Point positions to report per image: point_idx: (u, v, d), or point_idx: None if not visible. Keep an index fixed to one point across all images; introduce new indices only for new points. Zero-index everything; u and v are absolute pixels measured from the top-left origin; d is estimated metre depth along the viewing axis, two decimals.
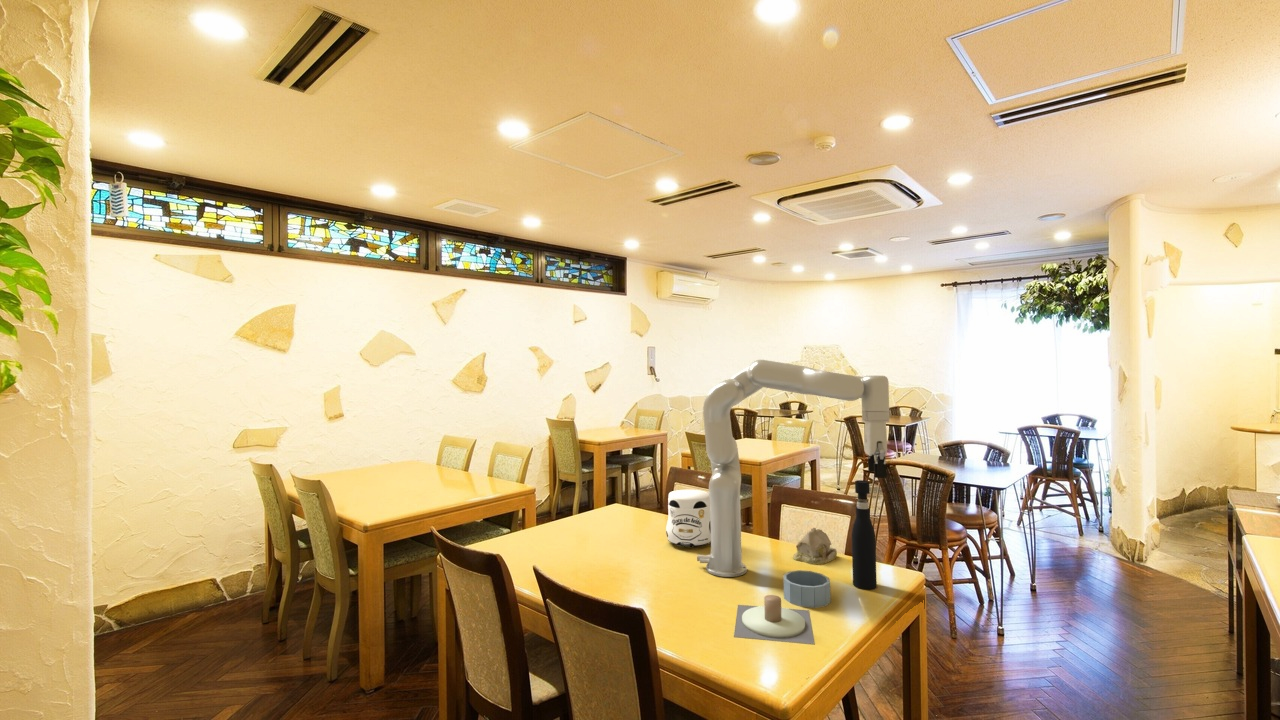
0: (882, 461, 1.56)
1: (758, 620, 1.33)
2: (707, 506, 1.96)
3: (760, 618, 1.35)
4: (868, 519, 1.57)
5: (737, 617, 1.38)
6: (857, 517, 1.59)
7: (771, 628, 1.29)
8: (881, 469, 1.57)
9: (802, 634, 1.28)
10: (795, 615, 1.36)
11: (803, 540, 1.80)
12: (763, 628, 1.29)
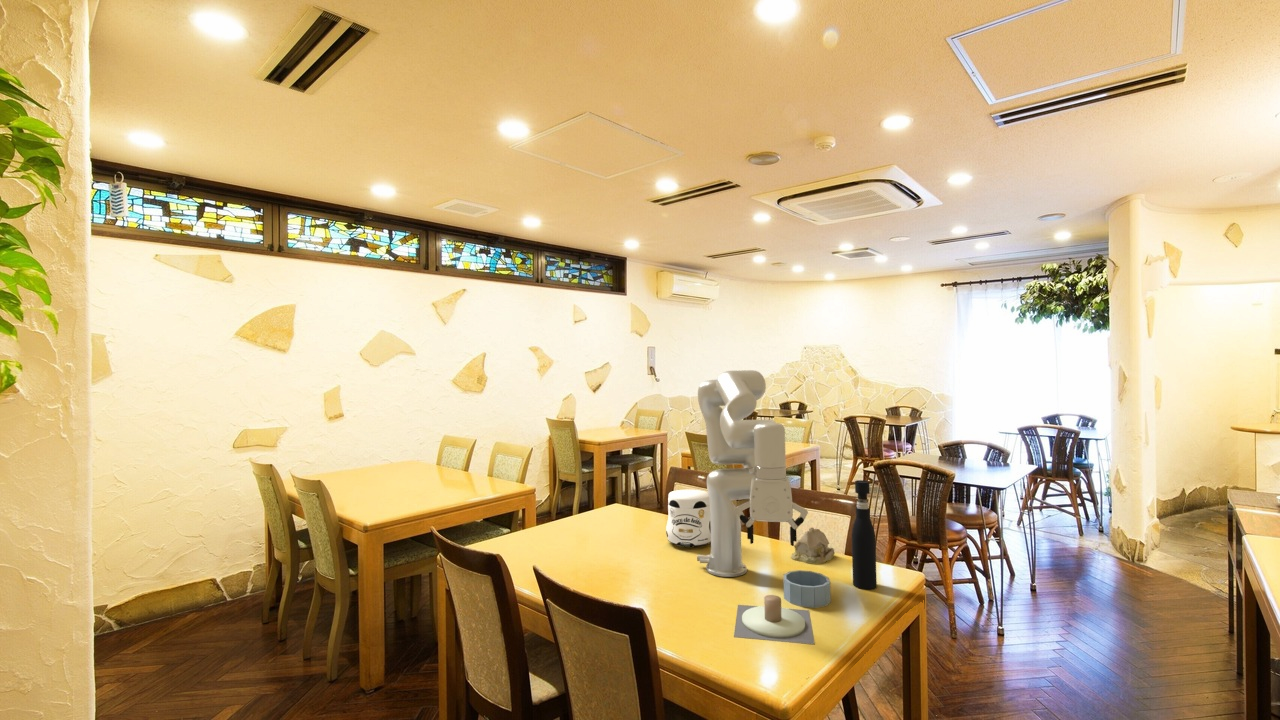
0: None
1: (758, 620, 1.33)
2: (707, 506, 1.96)
3: (760, 618, 1.35)
4: (868, 519, 1.57)
5: (737, 617, 1.38)
6: (857, 517, 1.59)
7: (771, 628, 1.29)
8: None
9: (802, 634, 1.28)
10: (795, 615, 1.36)
11: (801, 540, 1.80)
12: (763, 628, 1.29)
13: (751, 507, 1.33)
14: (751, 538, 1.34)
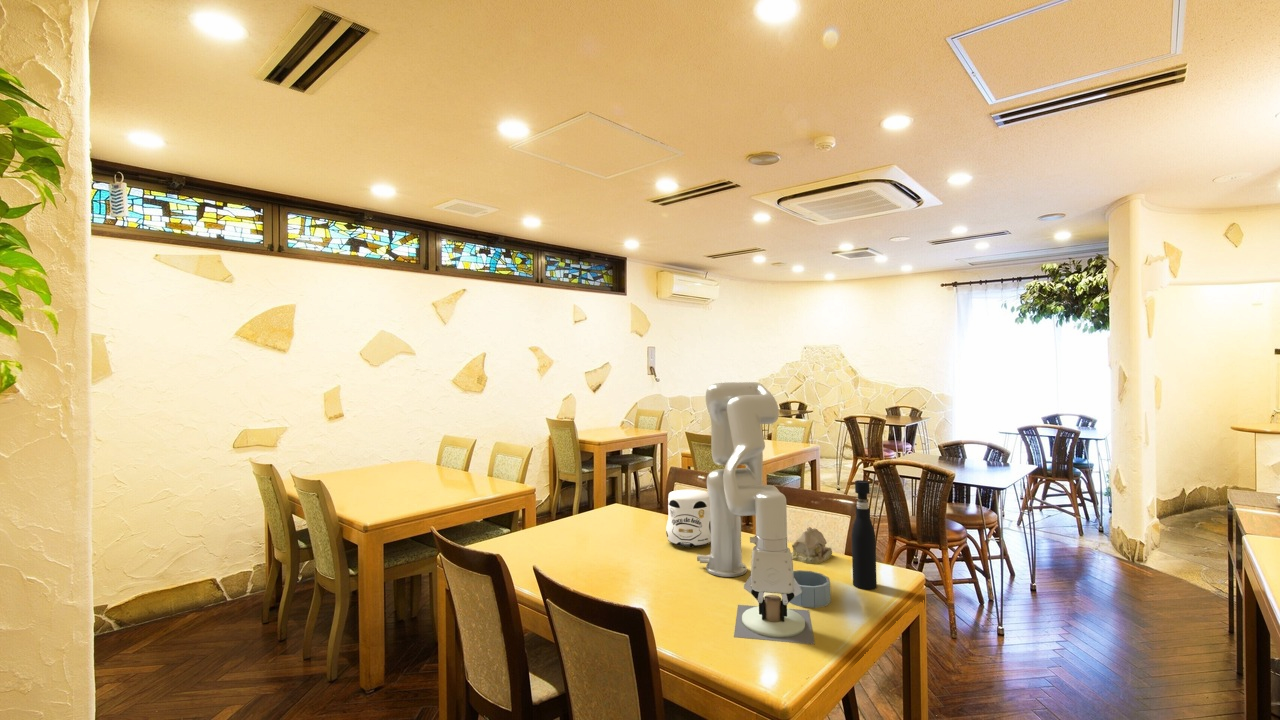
0: None
1: (758, 620, 1.33)
2: (707, 506, 1.96)
3: (760, 618, 1.35)
4: (868, 519, 1.57)
5: (737, 617, 1.38)
6: (857, 517, 1.59)
7: (771, 628, 1.29)
8: (786, 608, 1.34)
9: (802, 634, 1.28)
10: (795, 615, 1.36)
11: (799, 540, 1.81)
12: (763, 628, 1.29)
13: (752, 578, 1.33)
14: (763, 614, 1.33)
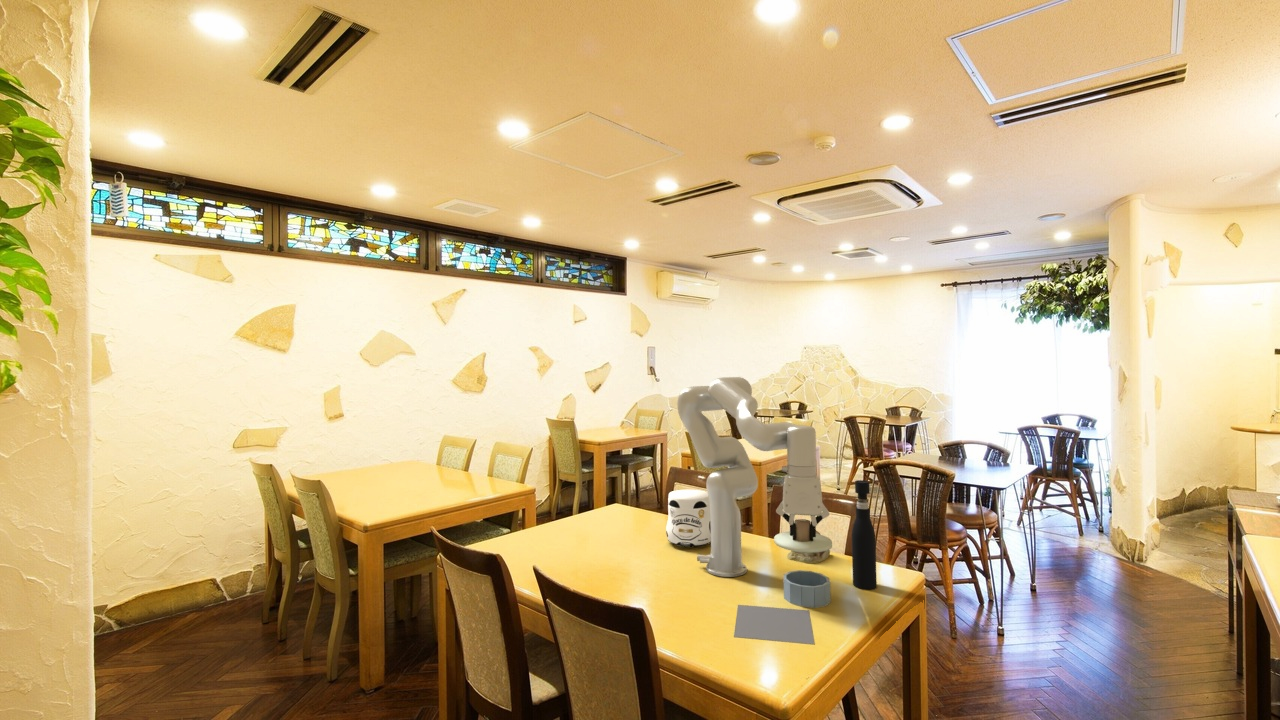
0: None
1: (789, 540, 1.47)
2: (707, 506, 1.96)
3: (791, 539, 1.49)
4: (868, 519, 1.57)
5: (737, 617, 1.38)
6: (857, 517, 1.59)
7: (801, 545, 1.43)
8: None
9: (802, 634, 1.28)
10: (823, 537, 1.50)
11: None
12: (794, 545, 1.43)
13: (784, 502, 1.47)
14: (793, 535, 1.47)
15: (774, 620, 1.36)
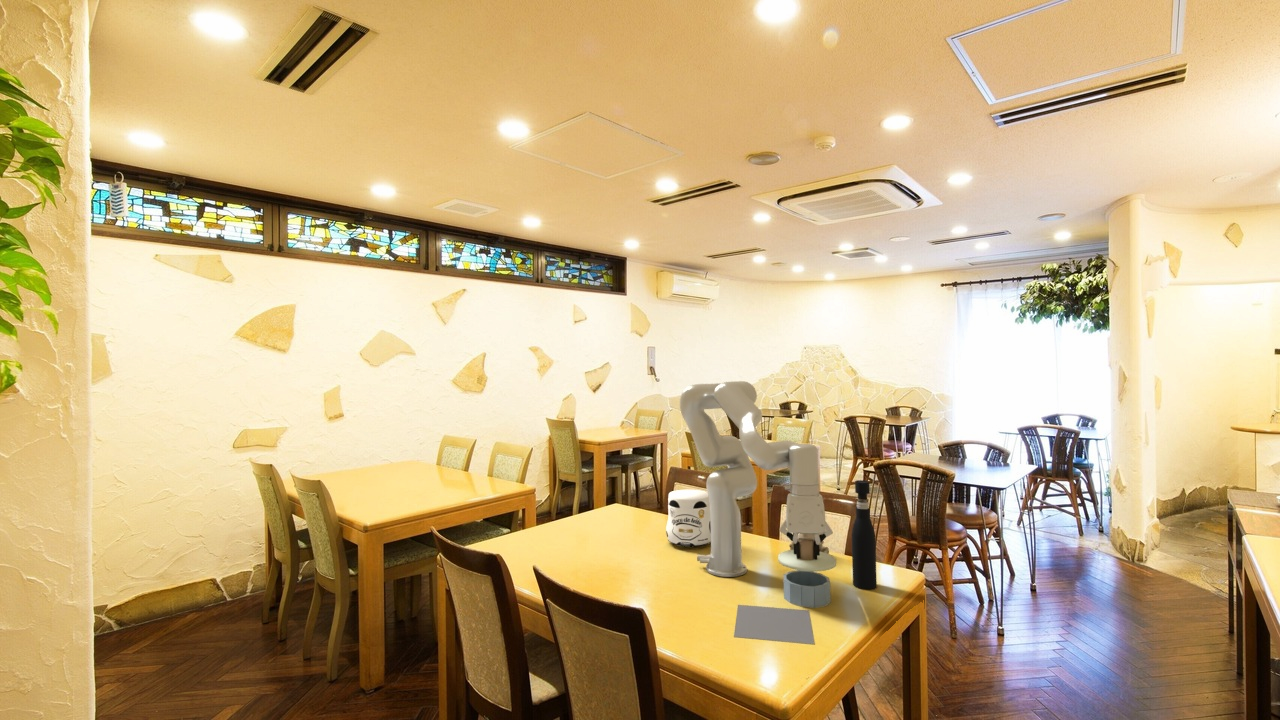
0: None
1: (793, 559, 1.48)
2: (707, 506, 1.96)
3: (795, 557, 1.49)
4: (868, 519, 1.57)
5: (737, 617, 1.38)
6: (857, 517, 1.59)
7: (806, 564, 1.44)
8: None
9: (802, 634, 1.28)
10: (826, 555, 1.50)
11: None
12: (799, 564, 1.44)
13: (788, 520, 1.48)
14: (797, 553, 1.48)
15: (774, 620, 1.36)
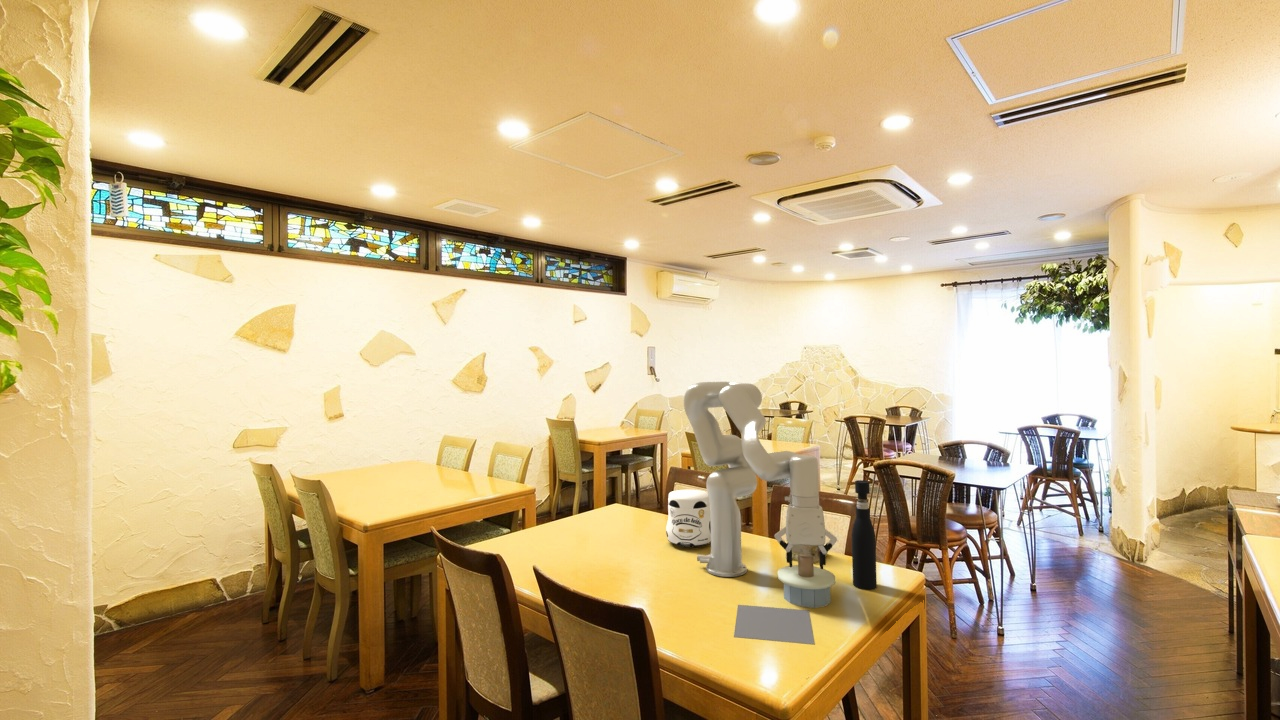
0: None
1: (792, 576, 1.48)
2: (707, 506, 1.96)
3: (794, 574, 1.49)
4: (868, 519, 1.57)
5: (737, 617, 1.38)
6: (857, 517, 1.59)
7: (805, 581, 1.44)
8: None
9: (802, 634, 1.28)
10: (825, 572, 1.51)
11: None
12: (798, 581, 1.44)
13: (787, 532, 1.48)
14: (790, 562, 1.48)
15: (774, 620, 1.36)
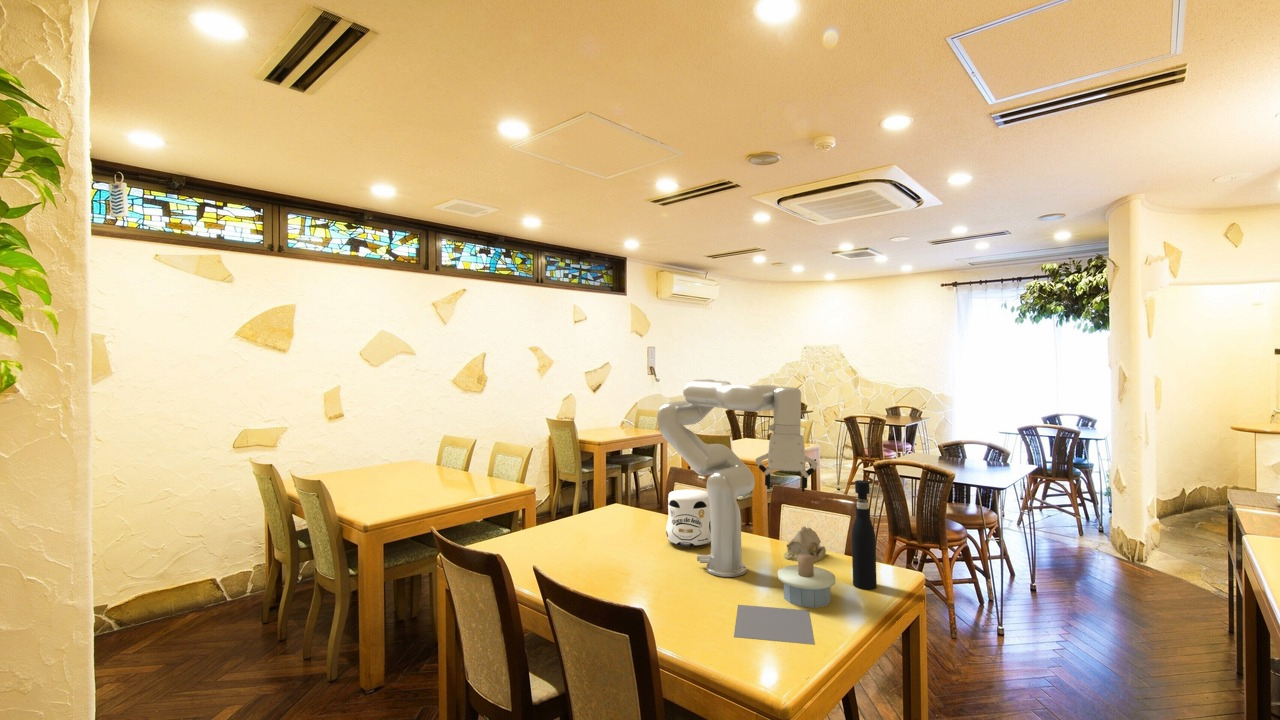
0: None
1: (792, 576, 1.48)
2: (707, 506, 1.96)
3: (794, 574, 1.49)
4: (868, 519, 1.57)
5: (737, 617, 1.38)
6: (857, 517, 1.59)
7: (805, 581, 1.44)
8: None
9: (802, 634, 1.28)
10: (825, 572, 1.51)
11: (795, 539, 1.81)
12: (798, 581, 1.44)
13: (769, 458, 1.57)
14: (768, 484, 1.58)
15: (774, 620, 1.36)
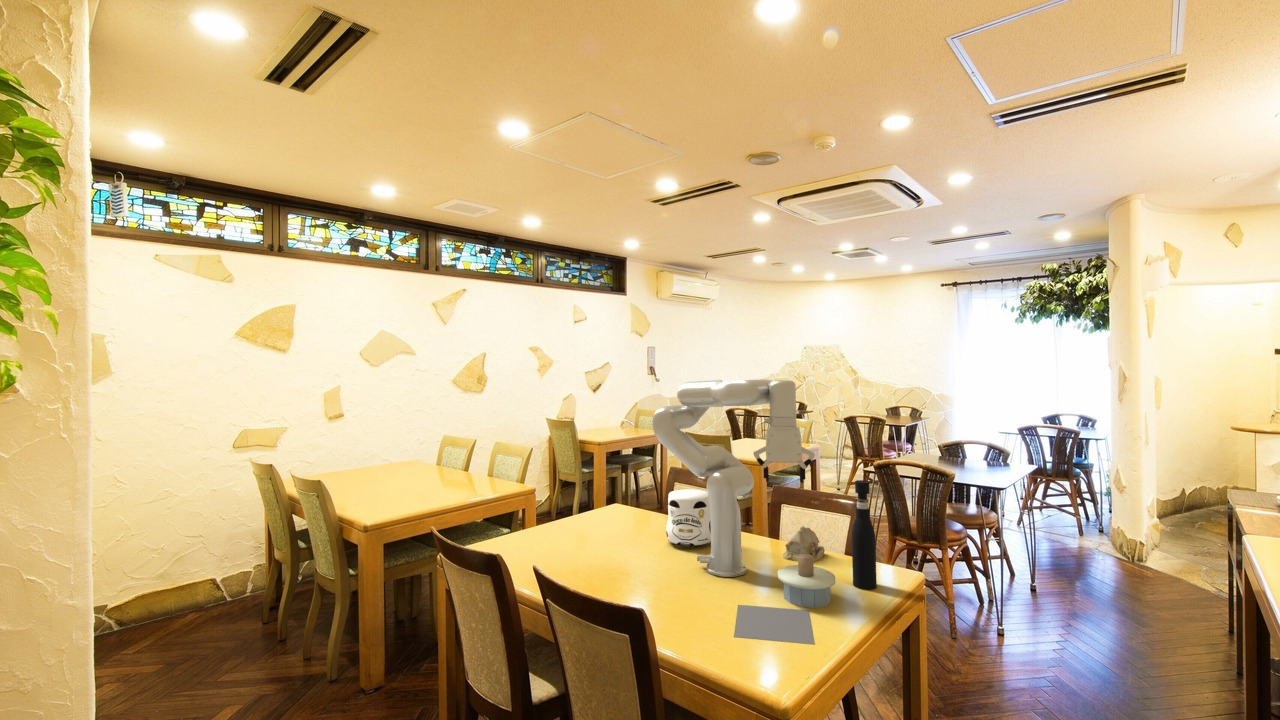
0: (807, 464, 1.58)
1: (792, 576, 1.48)
2: (707, 506, 1.96)
3: (794, 574, 1.49)
4: (868, 519, 1.57)
5: (737, 617, 1.38)
6: (857, 517, 1.59)
7: (805, 581, 1.44)
8: (804, 473, 1.58)
9: (802, 634, 1.28)
10: (825, 572, 1.51)
11: (794, 539, 1.81)
12: (798, 581, 1.44)
13: (767, 450, 1.58)
14: (767, 477, 1.59)
15: (774, 620, 1.36)
